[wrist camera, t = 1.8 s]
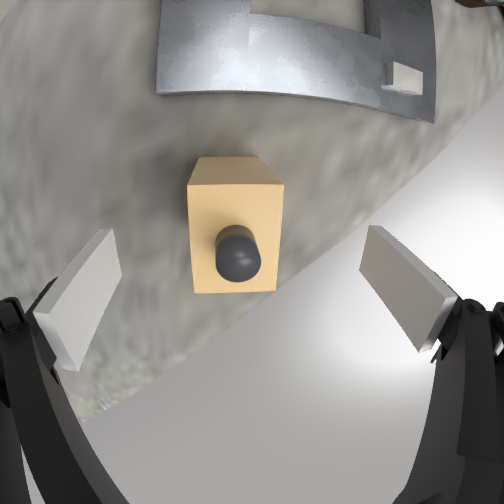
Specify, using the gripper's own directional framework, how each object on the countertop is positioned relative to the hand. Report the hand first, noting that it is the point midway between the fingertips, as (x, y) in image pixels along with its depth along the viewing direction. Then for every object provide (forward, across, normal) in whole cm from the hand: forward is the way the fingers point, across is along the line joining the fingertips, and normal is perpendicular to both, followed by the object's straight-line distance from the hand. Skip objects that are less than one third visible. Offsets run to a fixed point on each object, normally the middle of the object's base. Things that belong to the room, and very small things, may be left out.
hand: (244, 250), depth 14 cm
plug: (+10, -1, 0) cm, 10 cm away
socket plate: (+10, +5, +18) cm, 21 cm away
